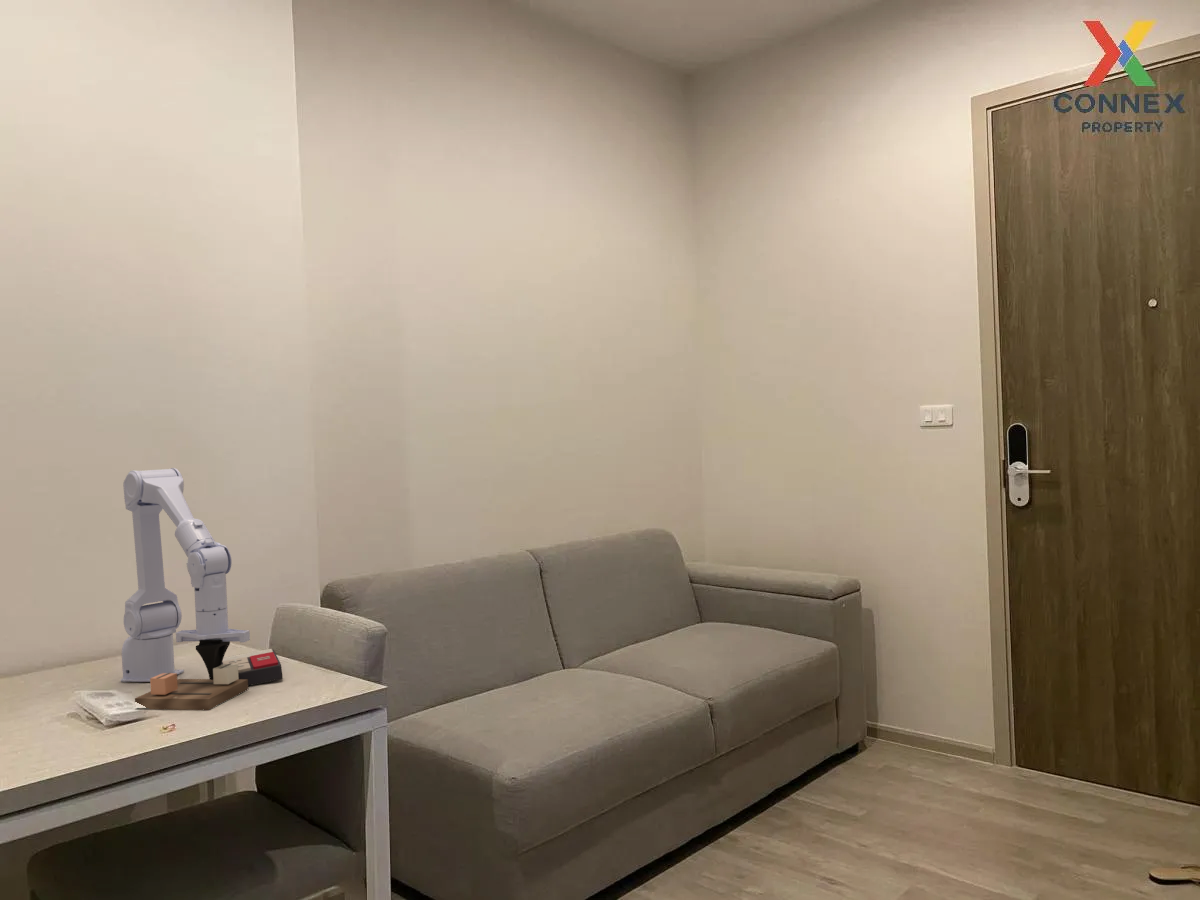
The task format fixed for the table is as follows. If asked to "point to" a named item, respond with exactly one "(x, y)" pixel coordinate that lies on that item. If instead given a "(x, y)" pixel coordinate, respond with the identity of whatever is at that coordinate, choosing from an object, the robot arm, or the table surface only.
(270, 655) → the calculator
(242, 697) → the table surface
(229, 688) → the mixer panel
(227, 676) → the ivory fader
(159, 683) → the terracotta fader
